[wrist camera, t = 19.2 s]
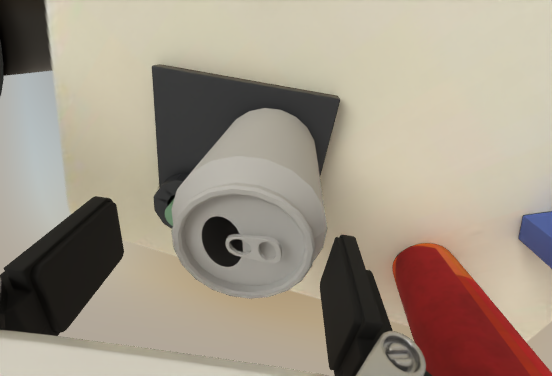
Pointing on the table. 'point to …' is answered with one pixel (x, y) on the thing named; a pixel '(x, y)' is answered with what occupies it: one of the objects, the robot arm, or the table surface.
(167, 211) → the button
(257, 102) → the dark grey flat block
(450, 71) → the table surface
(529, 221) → the walkman
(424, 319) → the coffee cup
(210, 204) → the can
